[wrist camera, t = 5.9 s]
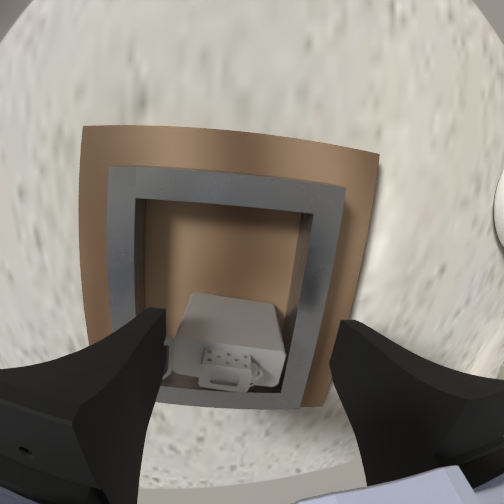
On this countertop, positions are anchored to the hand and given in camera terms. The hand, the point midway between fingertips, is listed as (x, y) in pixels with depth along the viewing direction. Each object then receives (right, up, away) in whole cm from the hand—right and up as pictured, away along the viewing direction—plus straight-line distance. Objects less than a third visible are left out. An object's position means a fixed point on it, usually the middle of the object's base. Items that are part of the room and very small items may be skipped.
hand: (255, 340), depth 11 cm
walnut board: (-2, +2, +5) cm, 6 cm away
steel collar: (-2, +1, +4) cm, 5 cm away
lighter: (-3, 0, +4) cm, 5 cm away
